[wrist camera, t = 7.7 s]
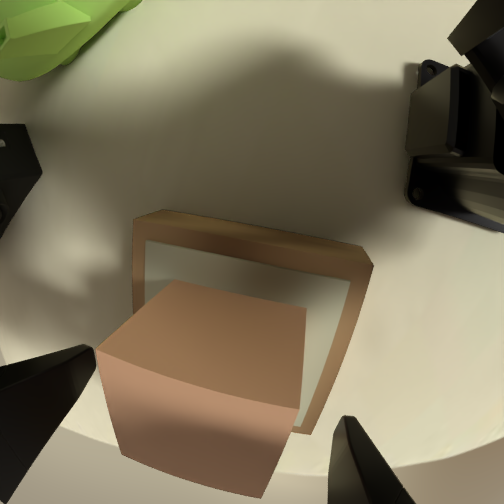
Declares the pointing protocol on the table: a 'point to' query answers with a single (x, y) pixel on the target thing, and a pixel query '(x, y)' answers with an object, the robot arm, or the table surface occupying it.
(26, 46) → the teapot
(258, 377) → the cube
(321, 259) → the stand
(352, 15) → the table surface
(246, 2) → the table surface
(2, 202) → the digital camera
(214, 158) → the table surface
